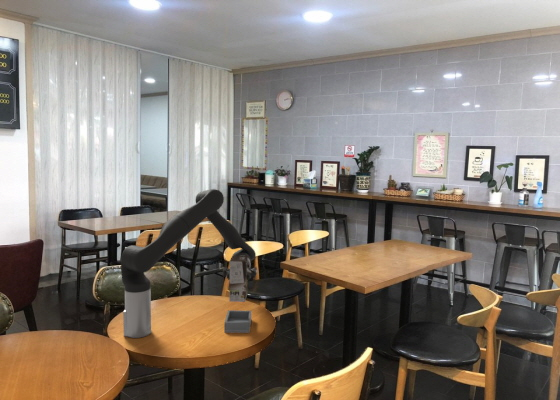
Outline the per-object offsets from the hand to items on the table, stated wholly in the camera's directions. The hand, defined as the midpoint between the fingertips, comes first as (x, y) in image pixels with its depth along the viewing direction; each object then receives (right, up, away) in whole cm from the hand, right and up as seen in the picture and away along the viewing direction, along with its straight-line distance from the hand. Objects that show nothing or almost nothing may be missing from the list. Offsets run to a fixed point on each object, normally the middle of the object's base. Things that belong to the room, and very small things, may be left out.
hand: (238, 277), depth 170 cm
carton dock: (0, -20, +5) cm, 21 cm away
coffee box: (0, -9, +3) cm, 9 cm away
